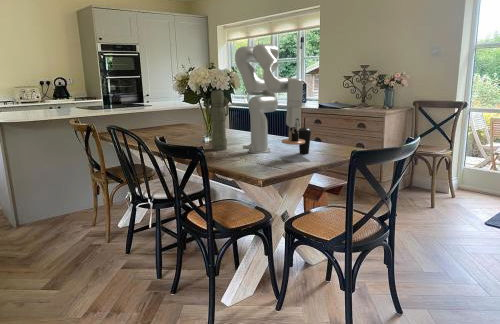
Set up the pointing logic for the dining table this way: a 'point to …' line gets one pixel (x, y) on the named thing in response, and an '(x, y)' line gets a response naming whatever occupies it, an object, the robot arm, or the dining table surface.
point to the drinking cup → (305, 135)
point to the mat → (294, 159)
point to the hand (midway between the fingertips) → (293, 139)
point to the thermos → (218, 120)
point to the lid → (290, 142)
